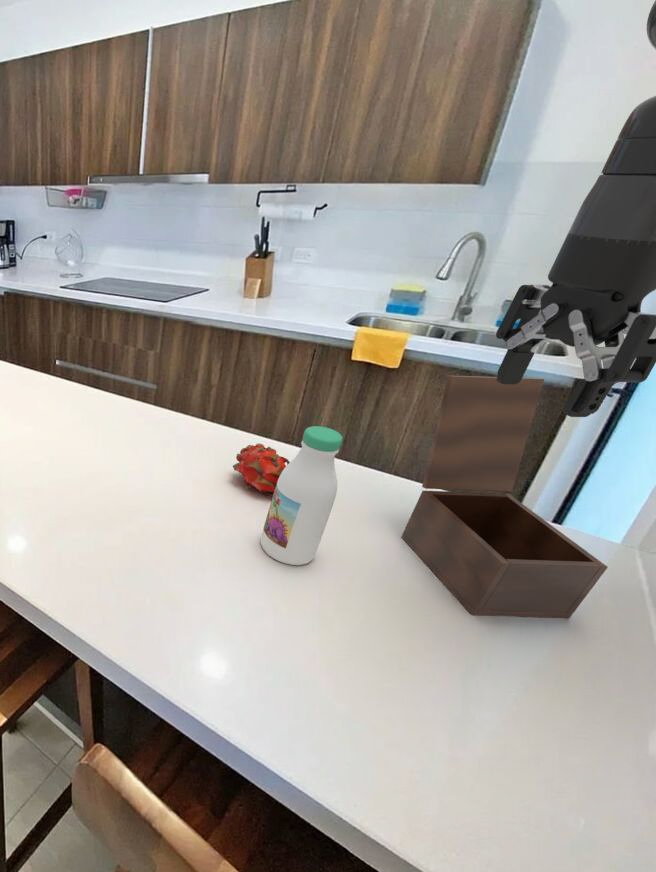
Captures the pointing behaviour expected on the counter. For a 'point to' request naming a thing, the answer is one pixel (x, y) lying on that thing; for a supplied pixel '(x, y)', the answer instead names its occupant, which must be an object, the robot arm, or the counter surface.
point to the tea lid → (481, 433)
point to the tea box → (500, 555)
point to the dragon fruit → (260, 467)
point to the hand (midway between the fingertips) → (538, 398)
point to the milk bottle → (303, 499)
